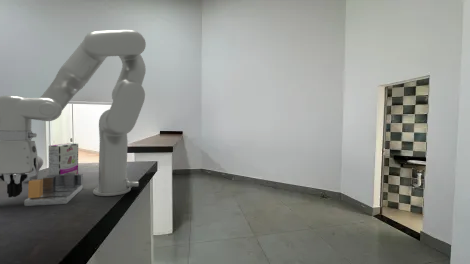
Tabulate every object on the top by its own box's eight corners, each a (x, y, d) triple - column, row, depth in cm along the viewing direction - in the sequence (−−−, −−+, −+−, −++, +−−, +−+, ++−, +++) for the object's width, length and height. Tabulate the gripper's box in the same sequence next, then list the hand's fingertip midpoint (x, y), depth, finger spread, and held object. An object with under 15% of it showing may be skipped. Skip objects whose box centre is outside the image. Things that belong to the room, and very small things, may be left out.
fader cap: (42, 195, 76) (42, 179, 76) (39, 197, 74) (39, 180, 74) (32, 195, 75) (32, 179, 75) (28, 197, 73) (28, 181, 73)
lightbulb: (21, 183, 95) (21, 156, 95) (27, 180, 101) (27, 154, 101) (39, 183, 98) (40, 156, 97) (44, 179, 103) (45, 154, 103)
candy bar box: (67, 179, 105) (68, 142, 105) (78, 180, 105) (79, 143, 105) (47, 186, 94) (47, 145, 94) (59, 186, 94) (60, 145, 93)
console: (82, 188, 93) (83, 170, 93) (66, 203, 76) (67, 181, 76) (49, 189, 89) (49, 171, 89) (24, 206, 72) (24, 183, 72)
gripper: (49, 136, 78) (48, 191, 79) (-9, 135, 73) (-9, 193, 74) (39, 137, 71) (38, 198, 72) (-26, 136, 66) (-26, 201, 67)
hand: (14, 195), depth 73 cm, fingers closed
